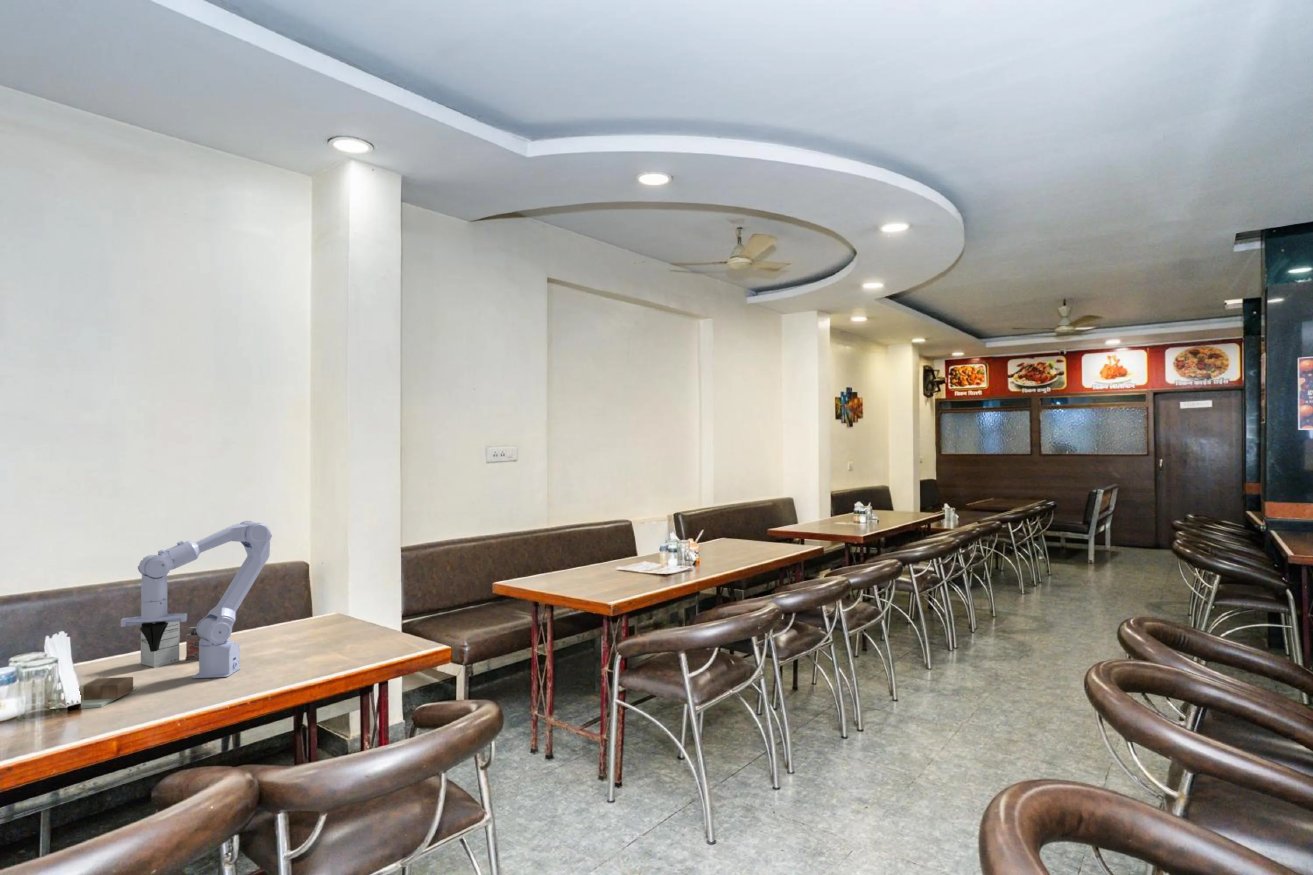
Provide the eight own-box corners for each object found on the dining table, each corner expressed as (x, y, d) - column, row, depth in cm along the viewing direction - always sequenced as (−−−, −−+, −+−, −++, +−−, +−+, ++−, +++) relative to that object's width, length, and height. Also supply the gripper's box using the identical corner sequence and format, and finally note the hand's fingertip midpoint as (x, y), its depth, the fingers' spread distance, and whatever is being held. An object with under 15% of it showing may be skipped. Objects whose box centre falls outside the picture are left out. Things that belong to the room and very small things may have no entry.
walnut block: (133, 676, 181) (96, 678, 180) (117, 684, 175) (79, 686, 174) (133, 690, 181) (96, 691, 180) (117, 698, 175) (79, 700, 174)
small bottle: (183, 661, 208) (183, 628, 208) (188, 657, 212) (188, 625, 212) (214, 658, 211) (213, 625, 211) (217, 655, 214) (217, 623, 214)
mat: (135, 688, 184) (135, 682, 184) (101, 707, 172) (101, 699, 172) (87, 690, 183) (87, 684, 183) (49, 709, 170) (49, 702, 170)
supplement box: (139, 664, 206) (139, 622, 206) (166, 657, 212) (166, 616, 212) (153, 668, 202) (153, 624, 202) (180, 661, 209) (180, 619, 209)
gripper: (190, 594, 192) (190, 643, 192) (127, 599, 187) (127, 649, 187) (182, 599, 185) (182, 650, 185) (117, 604, 180) (117, 656, 180)
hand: (154, 650), depth 185 cm, fingers closed
